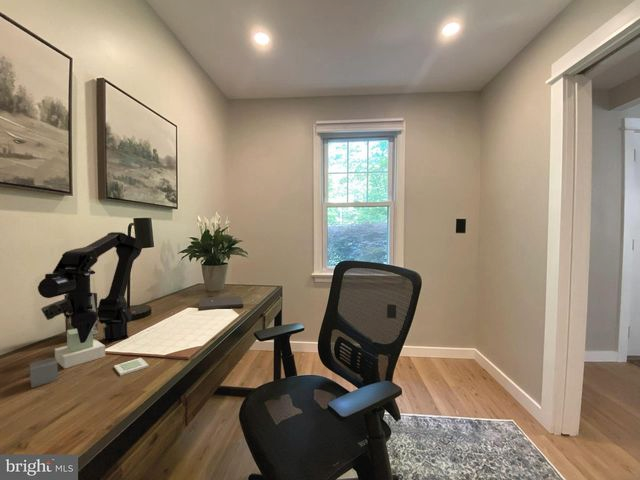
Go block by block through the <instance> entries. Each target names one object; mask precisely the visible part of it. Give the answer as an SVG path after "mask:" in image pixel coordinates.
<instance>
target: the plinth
mask: <svg viewBox="0 0 640 480" xmlns="http://www.w3.org/2000/svg"><path fill="white" fill-rule="evenodd" d="M54 357H55V358H56V360H57V364H59V365H60V366H61V367H62V368H63V369H69V368H72V367H75V366H79V365H81V364H85V363H88V362H91V361H94V360H97V359H100V358H104V357H106V345H105V344H103V343H101V341H99V340H97V339H95V338H93V347H90V348H86V349H82V350H78V351H74V352H70V351H69V349H68V348H67V345H64V346H60V347H56V348H54Z"/></svg>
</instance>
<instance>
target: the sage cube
mask: <svg viewBox="0 0 640 480" xmlns="http://www.w3.org/2000/svg"><path fill="white" fill-rule="evenodd" d="M93 339H94V335H93V330H92V329H91V331H90V333H89V335H88V337H87V339H86V341H85V342H84V343H80V339H79V336H78V332H77V328H76V329H71V330H67V336H66V342H67V343H66V346H67V348H68V349H69V351H70V352H74V351H78V350H82V349H86V348H90V347H93Z"/></svg>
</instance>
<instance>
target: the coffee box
mask: <svg viewBox="0 0 640 480" xmlns="http://www.w3.org/2000/svg"><path fill="white" fill-rule="evenodd" d="M91 293H92V296H91V305H92V310H93V311H95V312H96V313H97V311H98V310H97V308H98V293H97V292H91ZM65 295H66V294H64V295H63V296H64V299H65ZM89 310H91V309H89ZM66 314H67V312H66ZM64 319H65V320H64V321H65V322H64V323H65V337H67V330H71V329H73V326H71V325H70V321H69V319H68V318H66V317H65V316H64ZM98 320H99V319H98ZM98 320H97V321H96V322H95V324H94V326H93V328H92V330H93V336H94V335H97V334H99V328H98V327H99V325H98V323H99V321H98Z"/></svg>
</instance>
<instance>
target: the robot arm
mask: <svg viewBox="0 0 640 480" xmlns="http://www.w3.org/2000/svg"><path fill="white" fill-rule="evenodd" d="M113 248H115V249H116V250H115V253H116V256H117V257H118V261H117V263H116V268H115V271H114V274H113V277H112V282H111V285H110V289H109V292H108V295H107V296H105V298H101V299H100V300H99V304H98V305H97V313H96V312H95V311H93V310H92V305H91V296H92V293H93V292H92V291H91V275H94V274H96V271H95V270H93V269H91V268H92V267H93V266H94V265H95V264H97V262H98V259H99V258H100V257H101V256H102V255H103V254H105V253H107V252H108V251H110V250H112V249H113ZM143 248H144V243H143V241H142V240H141V239H140V238H137V237H134V236H130V235H128V234H126V233H124V232H122V231H121V232H119V231H118V232H116V231H115V232H114V231H112V232H111V231H110V232H108V233H107V235H104V236H103V237H100V238H99V239H97V240H95V241H94V242H92V243H90V244H88V245H87V246H83V247H78V248H73V249H70V250H67V251H65V252H64V253H63V254H62V255H61V258H60V259H59V261H58V263H57V265H56V266H55V267H54V269H53V271H52V273H45V275H44V276H45V277H44V278H43V279H42V280H41V281H40V282H39V283H38V286H37V291H38V294H39V295H40V296H42V297H43V298H45V299H52V298H56V297H59V296H64V295H65V299H62V300H58V301H56V302H53V303H51V304H48V305H45V306H43V307H41V308H40V310H41V312H42V313H43V315H44V317H45V319H46V320H47V321H49V320H51V319H54V318H55V317H58V316H60V315H63V316H64V318H65V317H66V318H68V319H69V321H70V325H71V326H73V329H76V328H77V332H78V336H79V339H80V343H84V342H85V341H86V339H87V337H88V335H89V333H90V331H91V329H92V328H93V326H94V324H95V322H96V321H97V320H99V321H98V322H99V323H100V324H101V325H104V326H103V328H102V330H103V331H102V332H103V337H102V338H103V339H104V341H106V342H107V343H111V342H115V341H121V340H123V339H124V340H125V339H128V338H129V335H128V323H130V321H132V318H133V313H132V312H130V311H129V309H128V302H127V300H126V298H125V296H126V295H125V294H126V291H127V288H128V283H129V280H130V277H131V272H132V268H133V264H134V261H135V260H136V259H137V258H138V257H139V256H140V255H141V253H142V250H143ZM89 309H91V310H89ZM66 312H67V314H66Z"/></svg>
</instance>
